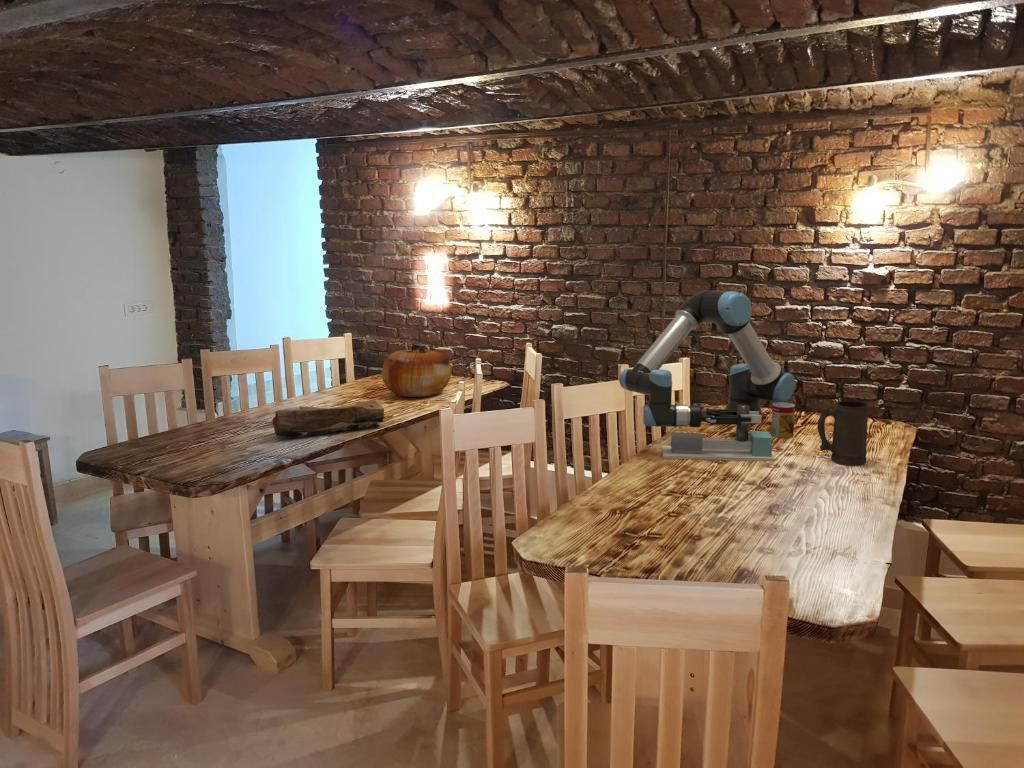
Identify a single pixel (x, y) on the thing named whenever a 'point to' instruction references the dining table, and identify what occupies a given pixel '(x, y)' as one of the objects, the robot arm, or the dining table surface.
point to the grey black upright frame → (732, 444)
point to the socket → (761, 443)
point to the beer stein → (846, 432)
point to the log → (327, 419)
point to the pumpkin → (416, 372)
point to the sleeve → (686, 443)
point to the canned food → (782, 420)
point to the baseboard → (716, 455)
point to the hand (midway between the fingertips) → (759, 417)
